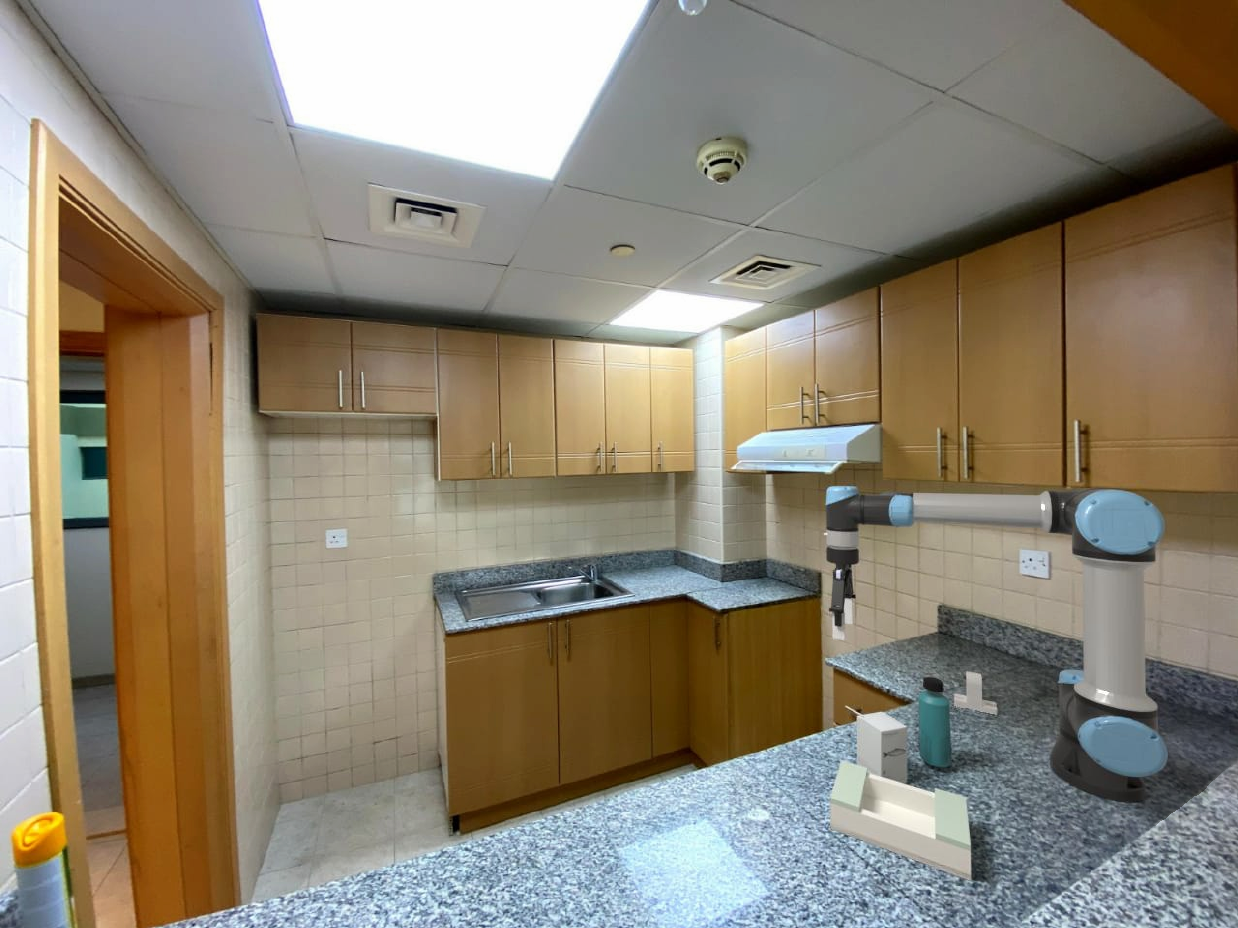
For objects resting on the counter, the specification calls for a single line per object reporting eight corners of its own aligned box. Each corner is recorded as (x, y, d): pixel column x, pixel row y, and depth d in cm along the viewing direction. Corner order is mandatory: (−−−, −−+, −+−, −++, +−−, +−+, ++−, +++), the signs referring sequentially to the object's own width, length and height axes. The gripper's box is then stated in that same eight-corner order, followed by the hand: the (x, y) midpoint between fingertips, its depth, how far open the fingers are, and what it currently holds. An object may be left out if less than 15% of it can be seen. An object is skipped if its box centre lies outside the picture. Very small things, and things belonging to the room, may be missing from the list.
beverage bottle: (957, 775, 109) (956, 686, 109) (924, 772, 110) (923, 684, 110) (943, 758, 115) (943, 674, 115) (913, 755, 117) (912, 672, 117)
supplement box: (881, 790, 104) (880, 731, 104) (855, 769, 111) (855, 714, 112) (908, 783, 106) (908, 726, 106) (882, 764, 113) (881, 709, 113)
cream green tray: (966, 828, 93) (965, 796, 93) (971, 880, 81) (970, 845, 81) (841, 787, 105) (841, 760, 105) (830, 828, 93) (830, 797, 93)
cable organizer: (954, 699, 144) (953, 666, 144) (996, 708, 139) (995, 673, 139) (954, 707, 140) (953, 672, 140) (997, 716, 134) (997, 680, 134)
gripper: (834, 539, 136) (835, 615, 135) (816, 553, 115) (817, 642, 115) (864, 541, 132) (865, 619, 131) (851, 556, 111) (852, 649, 110)
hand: (843, 630), depth 123 cm, fingers open, 13 cm apart
